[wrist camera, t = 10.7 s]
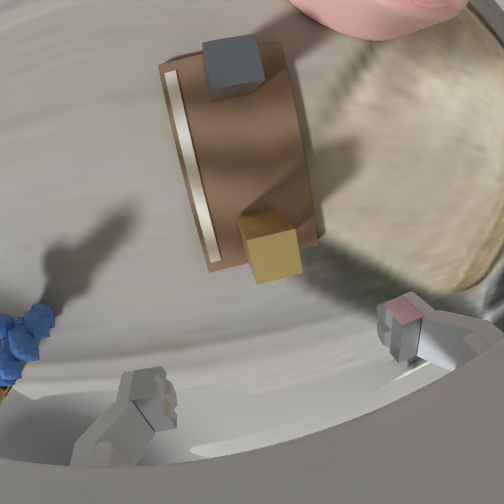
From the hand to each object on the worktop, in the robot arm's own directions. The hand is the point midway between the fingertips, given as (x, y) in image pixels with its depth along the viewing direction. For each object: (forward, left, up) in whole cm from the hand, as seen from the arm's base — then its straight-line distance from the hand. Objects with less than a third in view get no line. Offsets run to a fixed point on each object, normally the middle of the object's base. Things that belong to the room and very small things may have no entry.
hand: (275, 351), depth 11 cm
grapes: (+5, -25, -20) cm, 32 cm away
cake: (-25, +18, -20) cm, 37 cm away
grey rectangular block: (-12, +2, -19) cm, 23 cm away
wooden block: (+2, +2, -18) cm, 19 cm away
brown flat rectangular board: (-5, +2, -20) cm, 21 cm away
